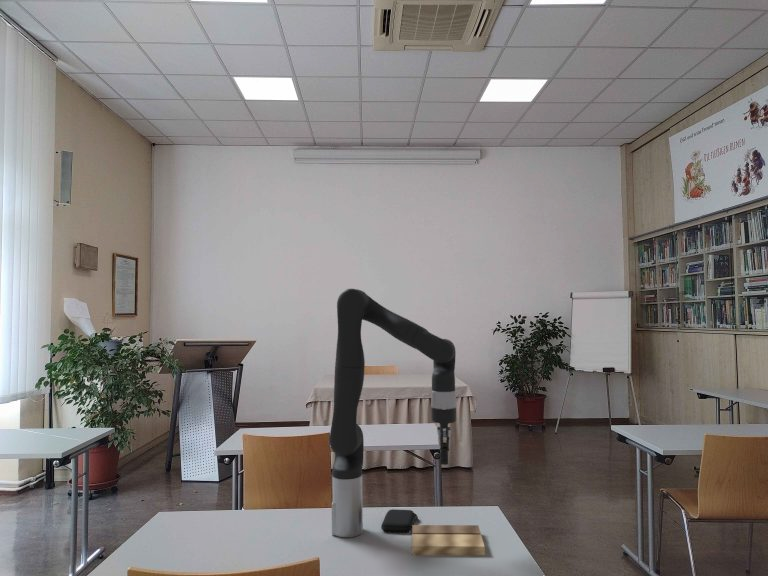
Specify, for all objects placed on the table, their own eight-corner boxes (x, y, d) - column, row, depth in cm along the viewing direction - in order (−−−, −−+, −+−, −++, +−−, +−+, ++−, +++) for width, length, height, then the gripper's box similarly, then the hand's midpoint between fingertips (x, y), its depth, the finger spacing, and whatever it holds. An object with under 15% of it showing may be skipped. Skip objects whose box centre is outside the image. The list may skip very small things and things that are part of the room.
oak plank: (412, 554, 150) (412, 546, 150) (412, 542, 158) (412, 534, 158) (484, 555, 149) (484, 546, 149) (481, 542, 157) (481, 534, 157)
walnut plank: (412, 541, 159) (412, 532, 159) (412, 533, 165) (412, 525, 165) (480, 541, 158) (480, 533, 158) (478, 533, 164) (478, 525, 164)
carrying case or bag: (414, 535, 164) (419, 518, 179) (414, 525, 164) (419, 508, 179) (380, 534, 166) (387, 516, 180) (380, 524, 166) (387, 507, 180)
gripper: (430, 402, 170) (431, 458, 169) (431, 409, 156) (432, 470, 156) (454, 402, 169) (455, 458, 168) (457, 409, 156) (458, 470, 155)
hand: (444, 463), depth 162 cm, fingers closed
